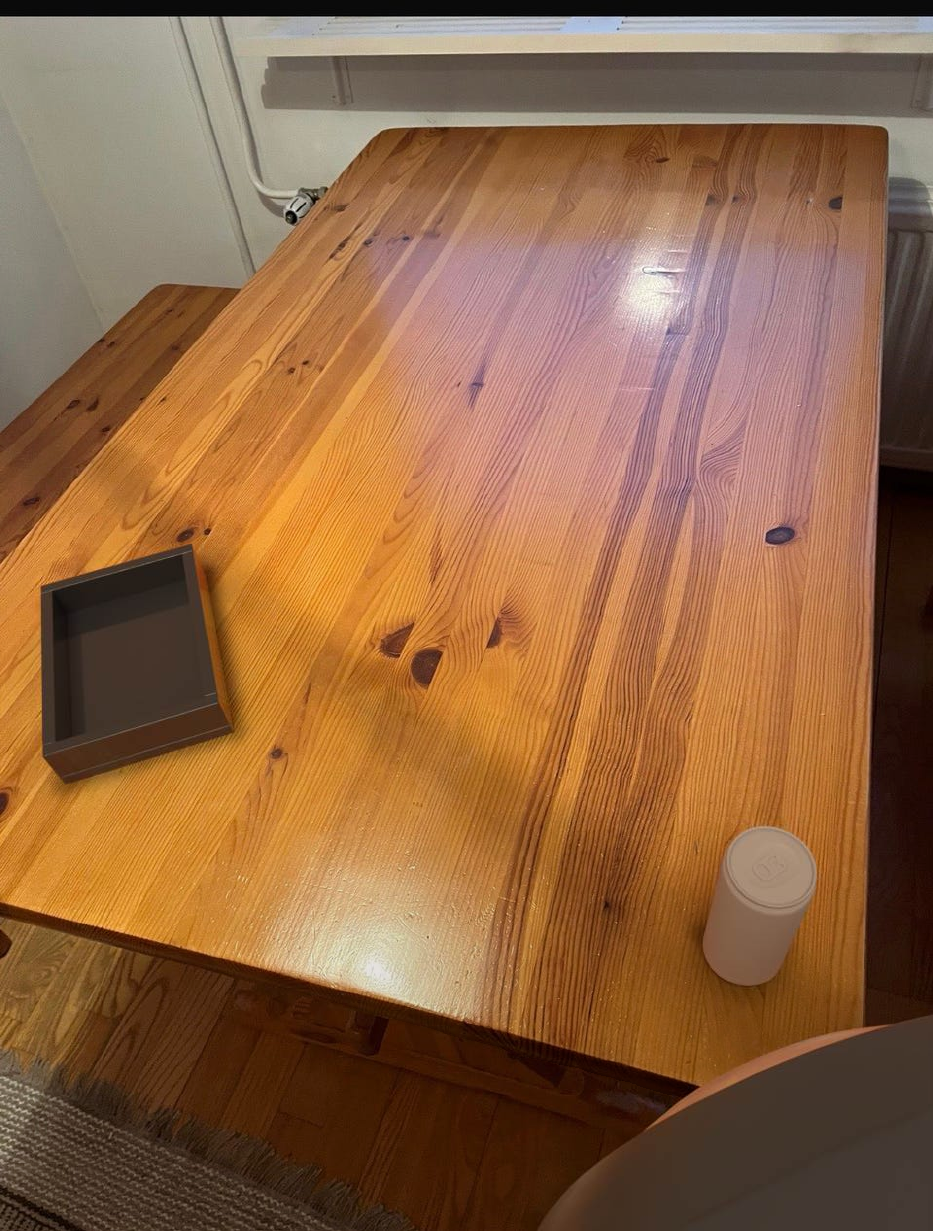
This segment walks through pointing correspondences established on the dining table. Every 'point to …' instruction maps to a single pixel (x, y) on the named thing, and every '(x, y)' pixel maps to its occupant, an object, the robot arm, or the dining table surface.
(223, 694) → the dark shallow tray
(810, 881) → the beverage can
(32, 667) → the dining table surface
